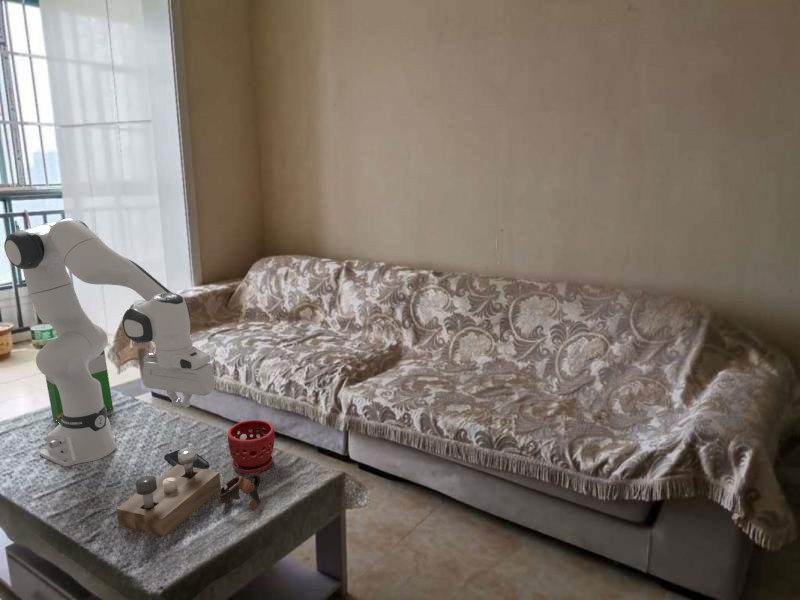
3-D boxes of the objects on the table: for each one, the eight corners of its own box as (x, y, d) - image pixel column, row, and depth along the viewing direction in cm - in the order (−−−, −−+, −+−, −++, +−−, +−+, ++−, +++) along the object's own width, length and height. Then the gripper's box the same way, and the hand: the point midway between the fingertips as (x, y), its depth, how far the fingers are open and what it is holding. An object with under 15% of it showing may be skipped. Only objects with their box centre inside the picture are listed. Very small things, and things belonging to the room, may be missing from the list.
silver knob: (176, 477, 155) (173, 454, 153) (188, 469, 159) (185, 446, 157) (190, 480, 153) (188, 457, 152) (202, 471, 158) (199, 448, 156)
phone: (187, 446, 180) (210, 463, 170) (187, 449, 181) (210, 466, 170) (162, 455, 175) (184, 473, 165) (163, 459, 175) (184, 477, 165)
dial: (160, 491, 148) (159, 482, 148) (169, 485, 151) (168, 475, 151) (171, 493, 147) (169, 484, 147) (179, 487, 150) (178, 477, 150)
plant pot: (224, 478, 163) (220, 439, 161) (239, 454, 176) (235, 418, 173) (270, 478, 163) (266, 439, 160) (281, 455, 176) (278, 419, 173)
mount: (118, 526, 143) (115, 508, 142) (179, 480, 163) (177, 464, 162) (164, 537, 138) (161, 519, 137) (221, 488, 158) (219, 472, 157)
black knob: (134, 509, 141) (131, 484, 139) (148, 498, 145) (145, 474, 144) (149, 512, 140) (146, 487, 138) (163, 502, 144) (159, 477, 142)
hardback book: (105, 402, 216) (95, 342, 211) (113, 408, 211) (103, 346, 206) (53, 418, 204) (41, 354, 198) (60, 424, 199) (48, 359, 193)
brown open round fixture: (249, 519, 145) (229, 495, 144) (227, 523, 151) (208, 500, 149) (275, 485, 155) (257, 461, 153) (254, 490, 160) (236, 467, 158)
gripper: (134, 356, 148) (140, 405, 152) (199, 364, 142) (205, 416, 145) (151, 348, 154) (158, 396, 158) (215, 356, 148) (220, 405, 151)
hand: (181, 406), depth 151 cm, fingers closed
